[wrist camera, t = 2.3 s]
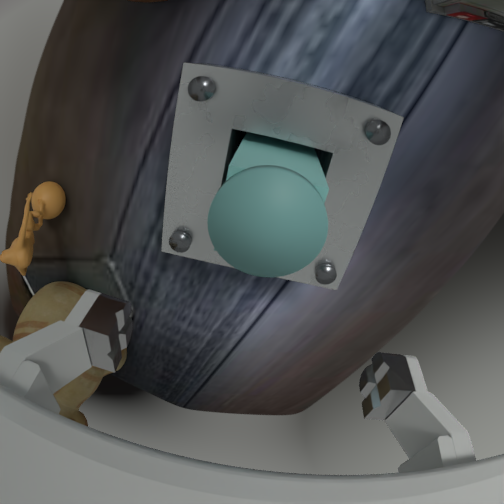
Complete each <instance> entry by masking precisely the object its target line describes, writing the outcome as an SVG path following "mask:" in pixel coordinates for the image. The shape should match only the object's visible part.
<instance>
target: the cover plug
mask: <svg viewBox="0 0 504 504" xmlns="http://www.w3.org/2000/svg"><path fill="white" fill-rule="evenodd" d="M328 191H329V187H328V184H327V181H326V179H325V176H324V173H323V170H322V168H321V165H320V162H319V160H318V157H317V154H316V152H315V149H314V148H313V147H309V146H306V145H302V144H298V143H294V142H290V141H286V140H282V139H277V138H273V137H269V136H264V135H260V134H255V133H251V132H247V133H246V135H245V137H244V138H243V140H242V142H241V144H240V146H239V147H238V149H237V151H236V153H235V155H234V157H233V159H232V160H231V162H230V164H229V168H228V173H227V178H226V182H224V183H223V185H222V186H221V187H220V188H219V190H218V192H217V193H216V195H215V197H214V199H213V201H212V203H211V206H210V209H209V213H208V221H207V224H208V232H209V236H210V239H211V242H212V244H213V246H214V251H217V252H218V254H219V255H220V256H221V257H222V258H223V259H224V260H225V261H226V262H227V263H228V264H230V265H231V266H233V267H234V268H236V269H238V270H240V271H242V272H244V273H247V274H250V275H253V276H259V277H280V276H285V275H289V274H292V273H294V272H297V271H299V270H301V269H303V268H304V267H306V266H307V265H308V264H310V263H311V262H312V261H313V260H314V259H315V258H316V257H317V255H318V254H319V253H320V251H321V250H322V248H323V246H324V244H325V241H326V238H327V234H328V217H327V212H326V208H325V205H324V203H325V200H326V197H327V194H328Z"/></svg>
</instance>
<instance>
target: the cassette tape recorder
mask: <svg viewBox="0 0 504 504" xmlns="http://www.w3.org/2000/svg"><path fill="white" fill-rule="evenodd" d="M425 4H426V11H427V12H429V13H434V14H439V15H444V16H449V17H453V18H458V19H462V20H466V21H470V22H473V23H477V24H480V25H484V26H487V27H491V28H494V29H497V30H500V31H503V32H504V0H425Z"/></svg>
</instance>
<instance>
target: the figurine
mask: <svg viewBox="0 0 504 504" xmlns="http://www.w3.org/2000/svg"><path fill="white" fill-rule="evenodd" d="M31 198H32V200H31ZM26 200H27V202H26V205H25V210H24V218H23V222H22V226H21V229H20V232H19V237H18V238H16V239H15V240H14V241H13V242H12V245H11V247H10V249H7V250H4V251H2V254H1V255H0V260H1V262H3V263H7V264H11V265H14V266H16V268H17V269H18V270H19V272H20V273H21V274H22V275H23V276H25V275H26V270H27V267H28V266H29V264H30V263H31V260H32V256H33V244H34V242H35V241H34V234H33V230H34V231H37V230H39V228H40V227H41V226H42V224H43V219H52V218H55V217H57V216H58V215H59V214H60V213H61V212H62V211H63V209H64V206H65V202H66V196H65V192H64V190H63V188H62V187H61V186H60V185H59V184H57V183H55V182H51V181H48V182H44V183H42V184H40V185H39V186H38V187H37V188H36V189H35V190H34V192H33V193H32V194H31V192H30V195H29V194H28V197H27V198H26ZM30 201H31V202H32V208H33V210H34V211H29V209H30ZM33 217H36V218H38V219H39V223H38V224H35V222H34V221H33Z"/></svg>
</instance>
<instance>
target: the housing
mask: <svg viewBox="0 0 504 504" xmlns="http://www.w3.org/2000/svg"><path fill="white" fill-rule="evenodd" d="M403 118H404V117H402V116H400V115H398V114H395V113H393V112H391V111H389V110H386V109H384V108H382V107H380V106H377V105H375V104H372V103H369V102H366V101H363V100H360V99H357V98H354V97H351V96H348V95H345V94H342V93H339V92H335V91H332V90H329V89H325V88H322V87H318V86H315V85H311V84H307V83H303V82H299V81H295V80H291V79H287V78H283V77H279V76H274V75H270V74H265V73H260V72H255V71H250V70H244V69H239V68H233V67H227V66H220V65H214V64H204V63H184V64H183V69H182V75H181V81H180V87H179V93H178V99H177V105H176V112H175V119H174V126H173V133H172V141H171V149H170V157H169V166H168V175H167V185H166V196H165V208H164V220H163V234H162V252H166V253H171V254H175V255H179V256H183V257H188V258H192V259H197V260H201V261H205V262H210V263H214V264H219V265H223V266H227V267H232V268H234V267H233V266H231V265H230V264H228V263H227V262H226V261H225V260H224V259H223V258H222V257H221V256H220V255H219V254H218V252H217V251H214V246H213V244H212V242H211V239H210V236H209V232H208V224H207V221H208V213H209V209H210V206H211V203H212V201H213V199H214V197H215V195H216V193H217V192H218V190H219V188H220V187H221V186H222V185H223V183H224V182H226V178H227V173H228V168H229V164H230V162H231V160H232V159H233V157H234V155H235V153H236V151H237V147H238V142H239V137H240V132H241V131H246V132H251V133H255V134H260V135H264V136H269V137H273V138H277V139H282V140H286V141H290V142H294V143H298V144H302V145H306V146H309V147H313V148H316V151H315V152H316V154H317V157H318V160H319V162H320V165H321V168H322V170H323V173H324V176H325V179H326V181H327V184H328V187H329V191H328V194H327V197H326V200H325V203H324V205H325V208H326V212H327V217H328V234H327V238H326V241H325V244H324V246H323V248H322V250H321V251H320V253H319V254H318V255H317V257H316V258H315V259H314V260H313V261H312V262H311V263H310V264H308V265H307V266H306V267H304V268H303V269H301V270H299V271H297V272H294V273H292V274H289V275H285V276H280V277H277V278H282V279H287V280H291V281H296V282H301V283H305V284H310V285H315V286H319V287H324V288H329V289H334V290H337V288H338V286H339V284H340V282H341V280H342V277H343V275H344V273H345V271H346V269H347V266H348V264H349V262H350V259H351V257H352V255H353V253H354V250H355V248H356V245H357V243H358V241H359V238H360V236H361V234H362V231H363V229H364V226H365V224H366V221H367V219H368V216H369V214H370V211H371V209H372V206H373V204H374V201H375V198H376V196H377V193H378V191H379V188H380V185H381V183H382V180H383V177H384V174H385V172H386V169H387V166H388V163H389V160H390V158H391V155H392V152H393V149H394V146H395V143H396V140H397V137H398V134H399V131H400V128H401V125H402V122H403Z"/></svg>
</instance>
